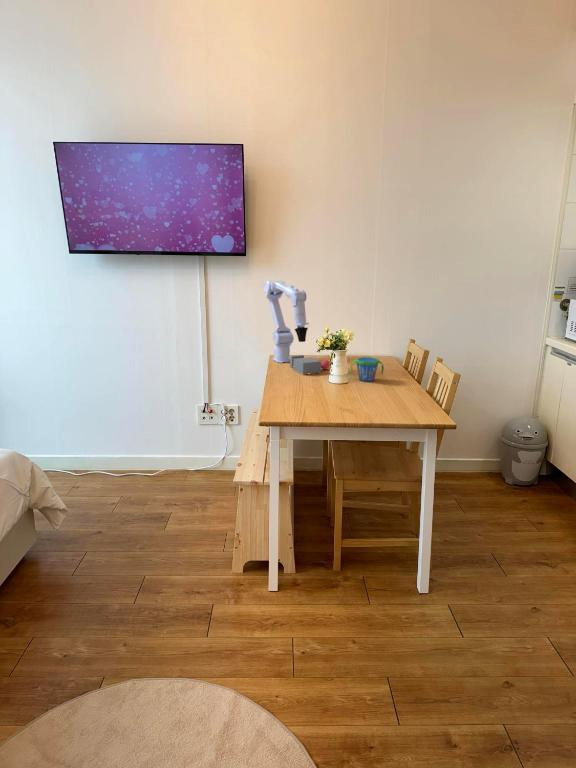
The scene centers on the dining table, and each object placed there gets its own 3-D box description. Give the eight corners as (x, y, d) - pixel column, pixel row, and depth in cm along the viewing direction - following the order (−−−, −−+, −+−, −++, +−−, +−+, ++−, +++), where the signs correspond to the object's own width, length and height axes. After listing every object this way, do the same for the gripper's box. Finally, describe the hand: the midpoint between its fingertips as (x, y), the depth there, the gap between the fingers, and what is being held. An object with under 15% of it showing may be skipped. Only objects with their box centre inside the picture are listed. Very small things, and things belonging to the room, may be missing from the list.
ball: (318, 369, 290) (318, 359, 289) (326, 368, 292) (326, 358, 291) (323, 371, 286) (323, 361, 284) (331, 370, 288) (332, 360, 287)
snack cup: (349, 381, 267) (351, 361, 265) (350, 376, 277) (351, 356, 275) (383, 383, 265) (384, 362, 263) (382, 378, 275) (383, 357, 273)
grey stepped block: (287, 367, 292) (287, 356, 290) (304, 365, 296) (304, 354, 295) (302, 375, 278) (303, 363, 276) (320, 373, 282) (321, 361, 281)
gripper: (309, 313, 278) (312, 341, 279) (305, 314, 292) (307, 341, 293) (295, 314, 277) (297, 342, 278) (292, 315, 291) (294, 342, 292)
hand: (302, 341), depth 285 cm, fingers open, 7 cm apart
